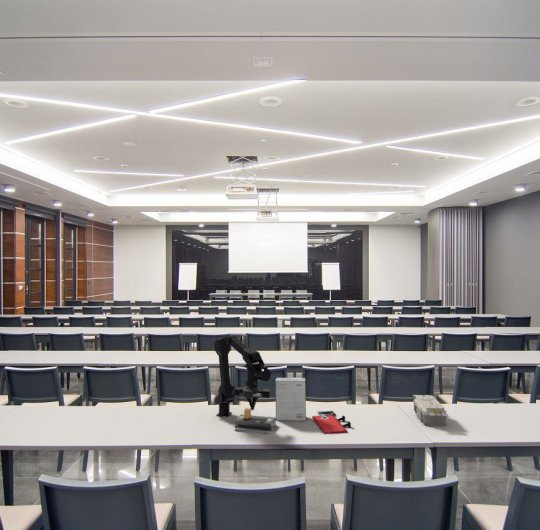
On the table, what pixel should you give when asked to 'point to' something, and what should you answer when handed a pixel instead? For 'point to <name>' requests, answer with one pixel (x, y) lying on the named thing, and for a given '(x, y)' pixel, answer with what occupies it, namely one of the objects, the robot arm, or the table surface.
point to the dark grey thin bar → (251, 430)
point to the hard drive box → (290, 399)
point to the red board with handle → (330, 423)
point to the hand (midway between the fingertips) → (252, 410)
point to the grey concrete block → (429, 410)
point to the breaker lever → (247, 413)
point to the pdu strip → (256, 422)
